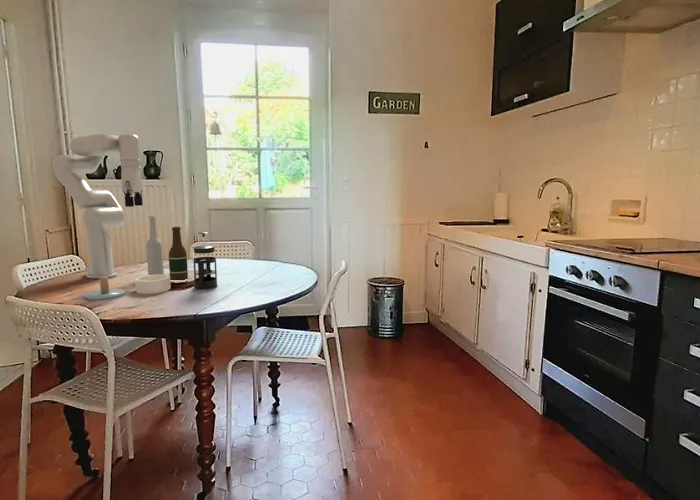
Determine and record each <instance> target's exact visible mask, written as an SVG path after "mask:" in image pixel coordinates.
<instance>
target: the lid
mask: <svg viewBox="0 0 700 500" xmlns="http://www.w3.org/2000/svg"><path fill="white" fill-rule="evenodd" d="M99 286H100V289H97V290H94V291H93V290H92V291H90V292H87V293H84V295H85V298H86V299H89V300H104V299H111V298H116V297H120V296H122V295H124V294H125V291H126V290H125V289H122V288H121V289H120V288H110V287H109V277H101V278H99Z"/></svg>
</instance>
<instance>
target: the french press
mask: <svg viewBox="0 0 700 500" xmlns="http://www.w3.org/2000/svg"><path fill="white" fill-rule="evenodd" d="M206 234H209V232H207V231H200V232H198V235H202V239H203V245H196V246H193V247H192V249H193V253H194V254H197V255H198V254H199V255H200V254H201V255H202V254H203V256H201V257H200V256H199V257H198V256H197V257H195V258H193V278H194V286H193V287H194V289H196V290H212V289H216V288H218V286H219V285H218V277H217V276H218V274H217V273H218V272H217V257H215V256H206V254H212V253H215V252H216V250H215V248H216V246H215V245H207V244H205V236H206ZM213 263H214V269H211V264H213ZM196 264H197V269H198V270H197V269H196ZM197 275H198V277H197ZM211 275H214V276H211Z"/></svg>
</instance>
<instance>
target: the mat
mask: <svg viewBox="0 0 700 500" xmlns="http://www.w3.org/2000/svg"><path fill="white" fill-rule="evenodd" d="M135 293H137V292H136V290H125V294H124V295H122V296H120V297H116V298H111V299H104V300H89V299H86V298H85V294H83V295H79V296H77V297H74V298H73V297H72V298H71V300H78V301H89V302H98V303H99V302H100V303H109V302H112V301H114V300H117V299H121V298H122V297H123V298H124V297H126V296H129V295H132V294H135Z"/></svg>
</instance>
